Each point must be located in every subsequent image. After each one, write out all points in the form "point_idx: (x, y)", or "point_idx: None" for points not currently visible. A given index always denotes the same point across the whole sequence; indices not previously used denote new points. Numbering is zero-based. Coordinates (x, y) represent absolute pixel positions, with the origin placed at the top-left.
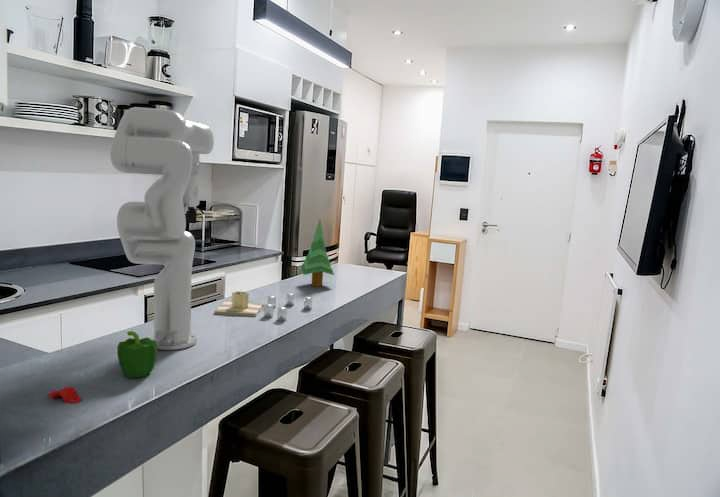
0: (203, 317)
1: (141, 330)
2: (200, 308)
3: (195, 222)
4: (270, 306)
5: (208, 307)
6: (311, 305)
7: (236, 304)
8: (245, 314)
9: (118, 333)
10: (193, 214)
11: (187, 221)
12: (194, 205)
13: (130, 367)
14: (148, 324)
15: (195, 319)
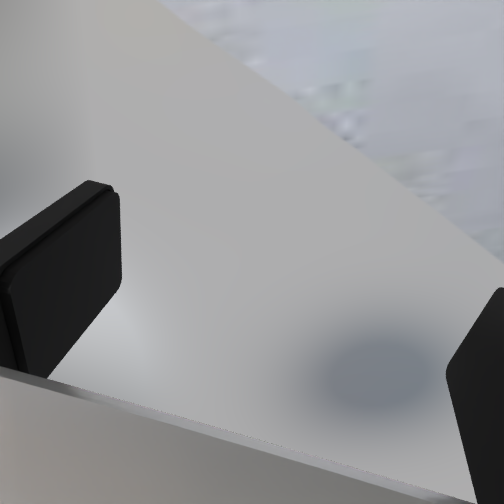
0: (343, 3)
1: (476, 197)
2: (213, 36)
3: (111, 191)
4: None
5: (195, 3)
6: None
7: None
8: None
9: (491, 250)
10: (51, 277)
11: (113, 282)
12: (356, 480)
13: None
14: (411, 187)
15: (370, 34)
